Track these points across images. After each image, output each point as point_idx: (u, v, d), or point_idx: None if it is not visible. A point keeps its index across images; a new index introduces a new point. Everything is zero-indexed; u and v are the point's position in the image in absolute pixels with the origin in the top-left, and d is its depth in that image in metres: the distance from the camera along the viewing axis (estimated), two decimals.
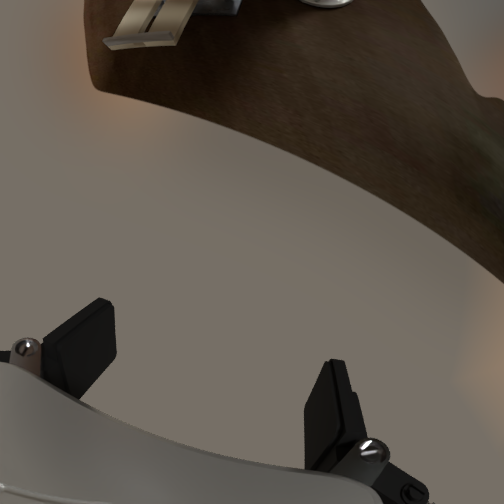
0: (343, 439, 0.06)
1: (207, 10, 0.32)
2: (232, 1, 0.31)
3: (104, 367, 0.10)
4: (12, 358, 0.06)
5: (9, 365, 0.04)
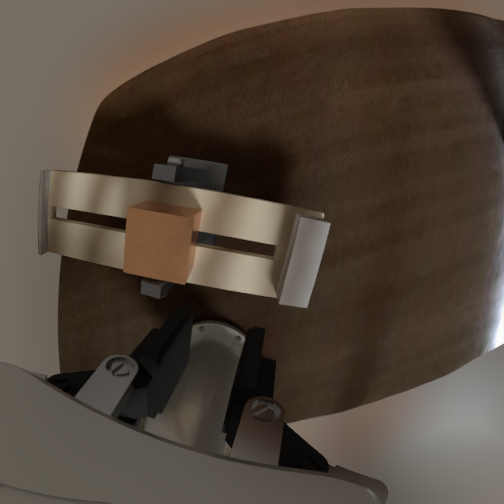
0: (239, 394, 0.08)
1: None
2: None
3: (180, 375, 0.11)
4: (100, 370, 0.07)
5: (9, 365, 0.04)
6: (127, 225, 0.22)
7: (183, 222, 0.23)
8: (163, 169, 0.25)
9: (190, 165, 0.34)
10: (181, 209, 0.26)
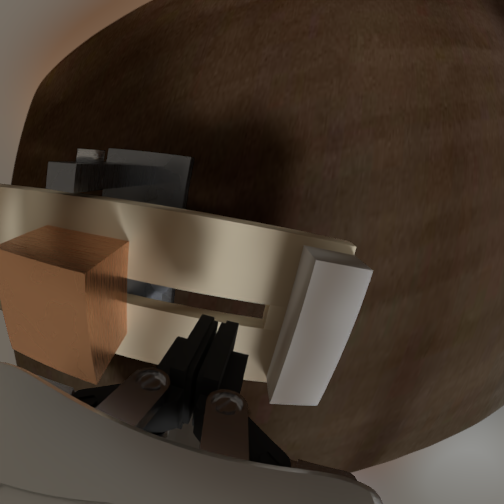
0: (204, 386, 0.08)
1: None
2: None
3: None
4: (129, 381, 0.07)
5: (9, 365, 0.04)
6: None
7: (68, 280, 0.09)
8: (59, 171, 0.12)
9: (135, 161, 0.21)
10: (86, 244, 0.12)
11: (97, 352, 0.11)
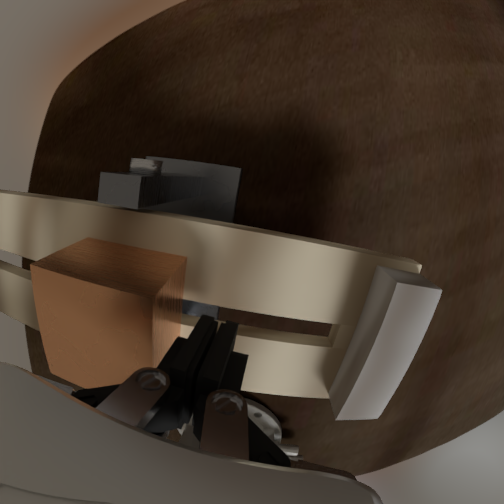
0: (204, 386, 0.08)
1: None
2: None
3: None
4: (129, 381, 0.07)
5: (9, 365, 0.04)
6: (36, 298, 0.09)
7: (130, 305, 0.09)
8: (117, 183, 0.12)
9: (179, 171, 0.21)
10: (141, 261, 0.12)
11: None
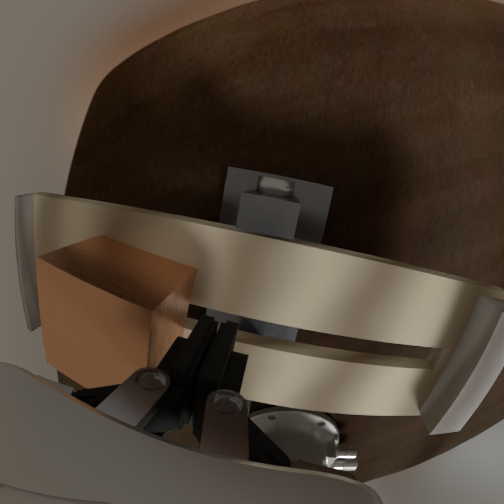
0: (204, 386, 0.08)
1: None
2: None
3: None
4: (129, 381, 0.07)
5: (9, 365, 0.04)
6: (39, 290, 0.09)
7: (129, 314, 0.09)
8: (266, 208, 0.11)
9: None
10: (149, 267, 0.12)
11: None
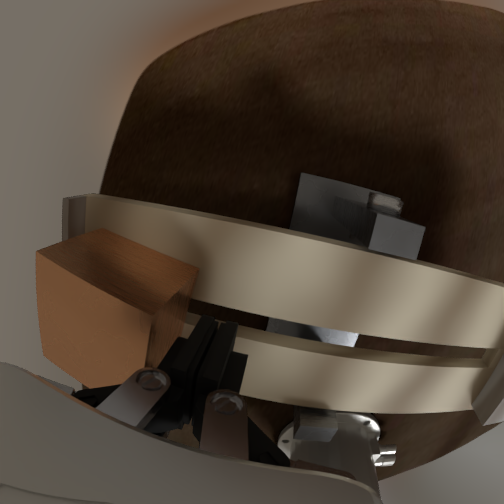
0: (204, 386, 0.08)
1: None
2: None
3: None
4: (129, 381, 0.07)
5: (9, 365, 0.04)
6: (38, 285, 0.09)
7: (129, 317, 0.09)
8: (398, 230, 0.10)
9: (340, 194, 0.19)
10: (150, 266, 0.12)
11: None
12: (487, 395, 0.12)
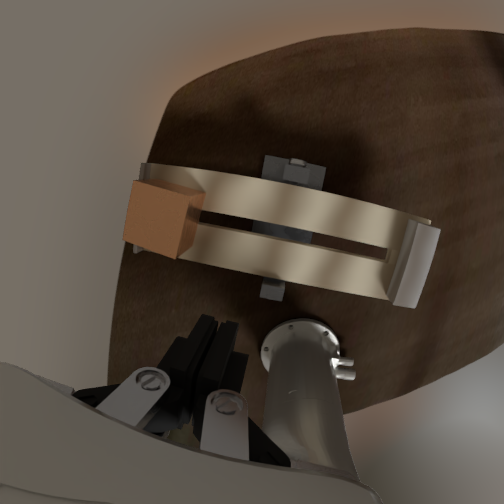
0: (204, 386, 0.08)
1: None
2: None
3: None
4: (129, 381, 0.07)
5: (9, 365, 0.04)
6: (131, 196, 0.24)
7: (180, 199, 0.24)
8: (296, 170, 0.25)
9: None
10: (184, 189, 0.27)
11: (181, 241, 0.25)
12: (393, 284, 0.28)
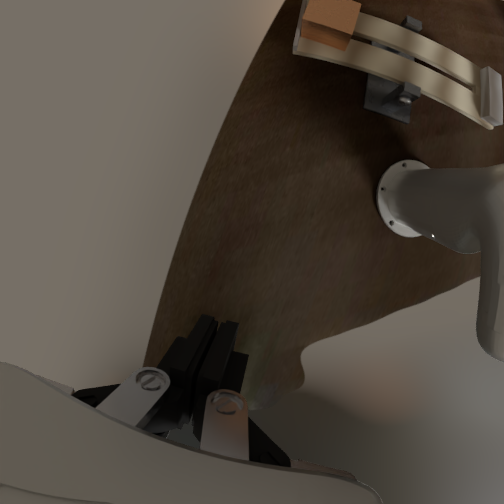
0: (204, 386, 0.08)
1: (371, 81, 0.35)
2: (381, 105, 0.36)
3: None
4: (129, 381, 0.07)
5: (9, 365, 0.04)
6: None
7: (354, 3, 0.21)
8: (413, 20, 0.23)
9: None
10: None
11: (354, 27, 0.23)
12: (483, 107, 0.25)
